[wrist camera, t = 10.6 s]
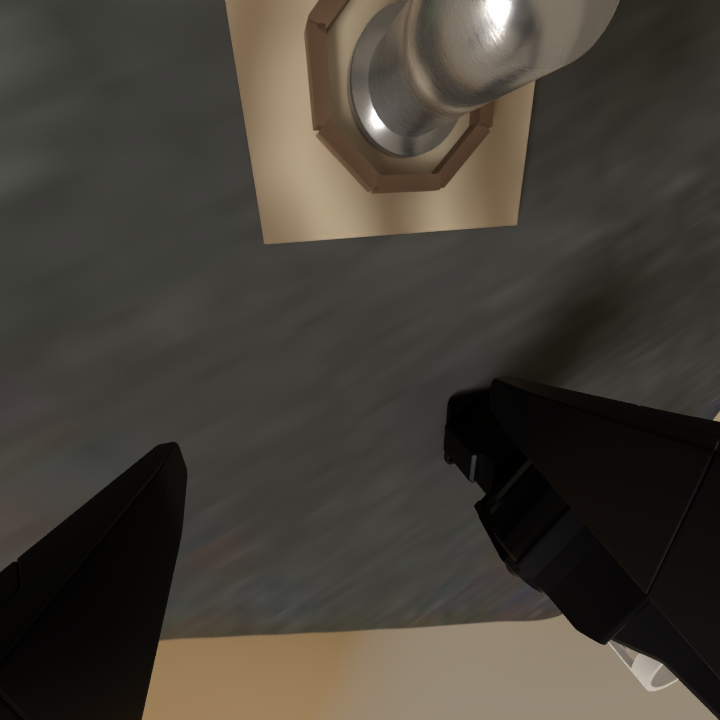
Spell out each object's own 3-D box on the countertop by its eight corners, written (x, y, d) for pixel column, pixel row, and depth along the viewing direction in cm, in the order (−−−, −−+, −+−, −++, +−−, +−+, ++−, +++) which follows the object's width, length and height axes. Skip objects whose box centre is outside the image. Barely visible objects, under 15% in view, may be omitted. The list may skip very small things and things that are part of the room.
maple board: (541, -74, 17) (574, -108, 15) (506, 224, 23) (527, 225, 21) (204, -131, 13) (195, -185, 11) (264, 243, 19) (264, 245, 17)
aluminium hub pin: (459, 16, 16) (693, -214, 8) (452, 157, 19) (623, 105, 10) (341, 7, 15) (460, -287, 6) (350, 160, 18) (445, 103, 9)
